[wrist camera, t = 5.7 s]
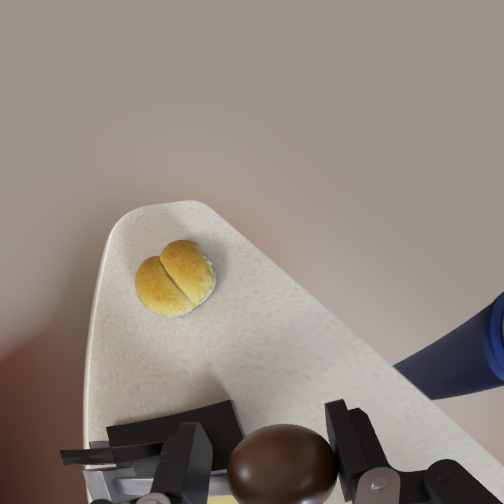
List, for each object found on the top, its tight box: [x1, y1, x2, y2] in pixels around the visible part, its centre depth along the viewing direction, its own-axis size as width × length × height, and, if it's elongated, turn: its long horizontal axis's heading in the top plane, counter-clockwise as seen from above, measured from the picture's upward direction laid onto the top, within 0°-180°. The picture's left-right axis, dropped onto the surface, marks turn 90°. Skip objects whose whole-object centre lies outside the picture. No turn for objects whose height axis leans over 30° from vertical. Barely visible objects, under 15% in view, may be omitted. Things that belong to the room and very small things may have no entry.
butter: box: [207, 496, 239, 504], centre depth 18 cm, size 4×4×4 cm
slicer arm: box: [83, 424, 338, 504], centre depth 10 cm, size 15×4×4 cm, turn 109°
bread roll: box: [136, 240, 216, 318], centre depth 30 cm, size 8×9×4 cm
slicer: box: [60, 400, 245, 504], centre depth 16 cm, size 14×10×14 cm
